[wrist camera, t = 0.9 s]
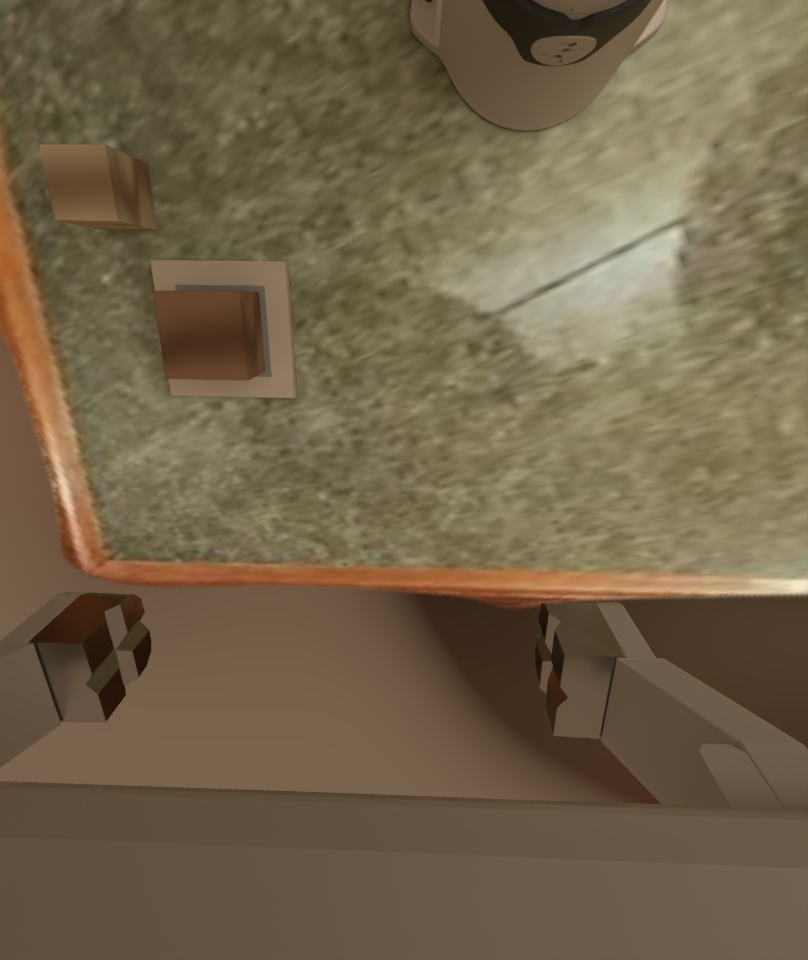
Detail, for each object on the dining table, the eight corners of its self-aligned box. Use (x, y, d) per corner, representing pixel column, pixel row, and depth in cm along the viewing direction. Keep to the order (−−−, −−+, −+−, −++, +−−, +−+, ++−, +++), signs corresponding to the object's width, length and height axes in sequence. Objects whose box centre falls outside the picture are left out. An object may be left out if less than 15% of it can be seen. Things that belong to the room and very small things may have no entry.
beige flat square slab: (155, 260, 45) (149, 259, 44) (288, 262, 44) (284, 261, 43) (176, 393, 49) (170, 395, 48) (296, 395, 49) (293, 398, 48)
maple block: (89, 163, 42) (38, 144, 37) (147, 164, 42) (105, 144, 37) (101, 229, 44) (54, 220, 38) (157, 229, 44) (118, 220, 38)
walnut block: (181, 290, 44) (152, 290, 40) (258, 291, 44) (239, 291, 40) (192, 370, 47) (166, 378, 42) (265, 371, 47) (247, 380, 42)
